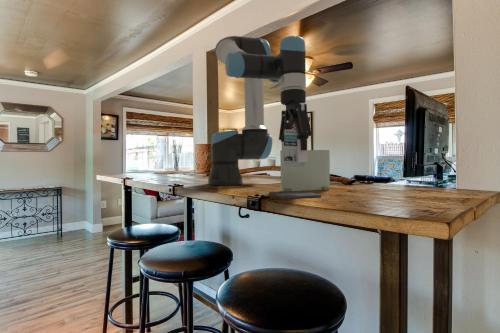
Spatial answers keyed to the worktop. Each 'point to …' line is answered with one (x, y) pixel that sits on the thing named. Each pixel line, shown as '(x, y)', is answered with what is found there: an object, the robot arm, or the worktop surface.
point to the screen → (307, 173)
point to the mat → (294, 194)
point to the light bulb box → (291, 149)
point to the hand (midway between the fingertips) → (293, 162)
